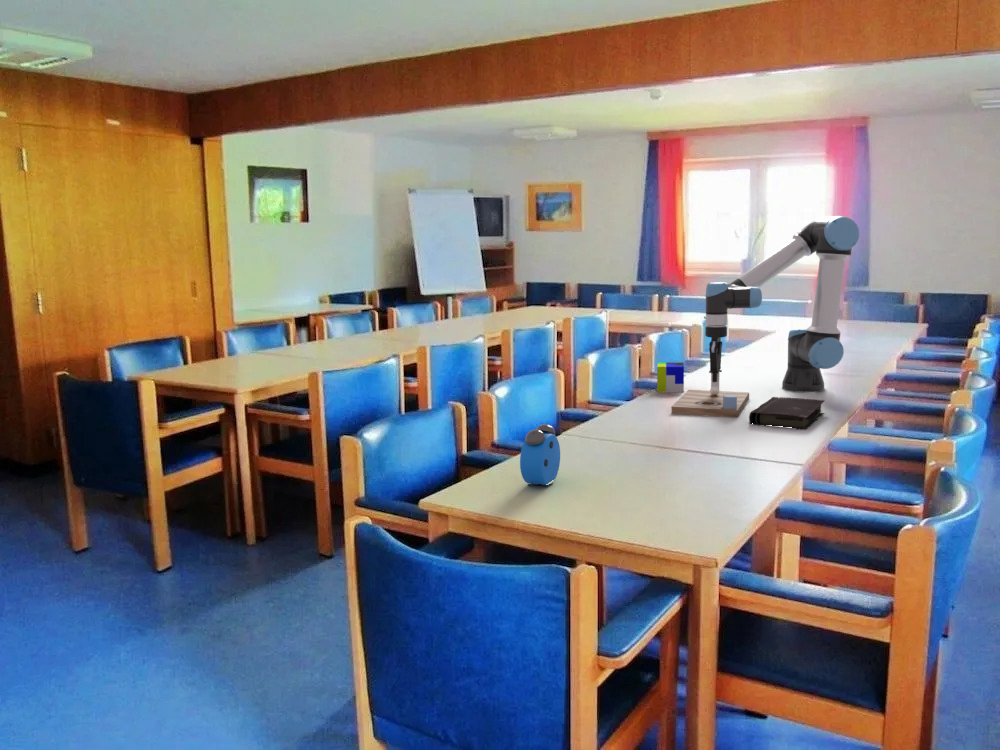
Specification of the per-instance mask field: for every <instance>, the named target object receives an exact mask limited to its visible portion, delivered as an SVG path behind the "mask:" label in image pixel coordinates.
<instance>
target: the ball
mask: <svg viewBox="0 0 1000 750" xmlns="http://www.w3.org/2000/svg"><path fill="white" fill-rule="evenodd" d="M709 391H710V393H711V394H712V395H718V393H719V391H720V388H719V389H718V388H717V387H712V388H711V387H710V389H709Z"/></svg>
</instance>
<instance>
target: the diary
mask: <svg viewBox="0 0 1000 750" xmlns="http://www.w3.org/2000/svg"><path fill="white" fill-rule="evenodd" d="M825 401H826V400H824V399H813V398H804V397H803V398H801V397H778V396H777V397H776V396H772V397H771V398H770V399H768V400H767V401H765V402H764V403H762V404H760V406H758V407H757V408H754V409H753V410H752V411H750V412H749V416H748V422H749V425H750V424H752V423H753V424H754V425H753V426H760V425H764V426H763V427H767V426H766V425H772V426H783V427H792V428H796V429H795V430H799V429H805V430H807V429H809V428H810V427H811V426H813V424H814V423H815V422H816V421H818V420H819V418H821V417H822V416H823V415H825V412H822V404H823V403H824V402H825ZM808 427H809V428H808Z"/></svg>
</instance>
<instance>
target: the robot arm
mask: <svg viewBox="0 0 1000 750" xmlns="http://www.w3.org/2000/svg"><path fill="white" fill-rule="evenodd" d="M859 238H860V229H859V227H858V224H857V223H856V222H855V220H853V219H852V218H850V217H847V216H844V215H843V216H842V215H834V216H821V217H818V218H816V219H814V220H813V221H811V222H810V223H808V224H807V225H805V226H804V227H802V228H801V229H800V230H799V231H797V232H796V233H795V234H793V235H792V239H791V240H789V241H788V242H787V243H785V244H784V245H783V246H781V247H779V248H777V250H775V251H774V252H773V253H771V254H770V255H768V256H767V257H766V258H764V259H763V260H761V261H760V262H759V263H757V264H756V265H755V266H753V267H752V268H751V269H749V270H748V271H746V272H744V273H743V274H742V275H740V276H739V277H738V278H736V279H735V280H733V281H732V282H729V283H727V282H725V281H716V282H714V281H713V282H709V283H707V284H706V286H705V287H706V288H705V316H704V317H703V319H705V325H706V326H705V327H704V328H705V329H704V330H705V331H704V333H705V335H704V336H705V337H706V338H711V340H710V342H709V348H708V349H709V350H708V351H709V367H710V368H709V370H708V371H709V372H708V373H709V374H711V375H710V389H711V388H712V387H717V388H718V389H719V390H720V376H721V375H720V373H722V369H721V364H722V349H723V341H722V339H721V338H726V337H727V336H728V326H727V325H728V309H729V310H730V309H753V308H755V309H756V308H759V307H761V305H762V301H763V293H762V290H761V287H762V286H764V285H765V284H767V283H768V282H770V281H771V280H773V279H774V278H775V277H776V276H778V275H779V274H781V273H782V272H784V271H785V270H787V269H788V268H789V267H791V266H792V265H794V264H795V263H797V262H798V261H799V260H801V259H802V258H804V257H805V256H806V257H809V256H812V255H813V254H814V253H815V254H816V256H817V257H818V258H819V263H818V272H817V277H816V278H817V279H816V287H815V293H814V294H815V295H814V302H813V310H812V318H811V325H810V326H808V327H807V328H804V329H803V328H802V329H791V330H789V332H788V335H787V336H788V337H787V369H786V371H785V374H784V377H783V380H782V384H781V389H783V390H786V391H789V392H796V393H800V392H801V393H814V392H816V393H817V392H821V391H822V392H823V391H824V390H825V380H824V378H823V375H822V372H821V369H822V370H829V369H832V368H834V367H836V366H838V364H839V363H840V362H841V361H842V360H843V356H844V352H845V350H844V345H843V344H842V343H841V341H840V339H841V331H840V330H839V328H838V319H839V311H840V305H841V299H842V297H841V296H842V289H843V282H844V274H845V267H846V261H847V260H848V259H849V258H850V257H851V256H852V249H853V248H854V247H855V246H856V244H858V241H859Z"/></svg>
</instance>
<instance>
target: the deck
mask: <svg viewBox="0 0 1000 750" xmlns="http://www.w3.org/2000/svg"><path fill="white" fill-rule="evenodd" d="M723 395H736V397H737V409H724V407H723ZM748 401H750V391H748V392H746V391H726V390H725V391H724V390H723V391H722V390H719V393H718V395H712V394H711V393H710V390H709V389H707V390H703V389H702V390H701V389H688V390H686V391H685V392H684V393H683V395H681V396H680V397H679V398H678V400H676V401H675V402H674V403H673V405H671V414H673V415H687V416H689V415H690V416H704V415H708V416H709V417H721V416H722V417H723V416H724V417H725V418H738V417H739V416H740V414H741V413H742V411H743V410H744V408H745V407H746V405H747V403H748ZM722 417H721V418H722Z"/></svg>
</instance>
